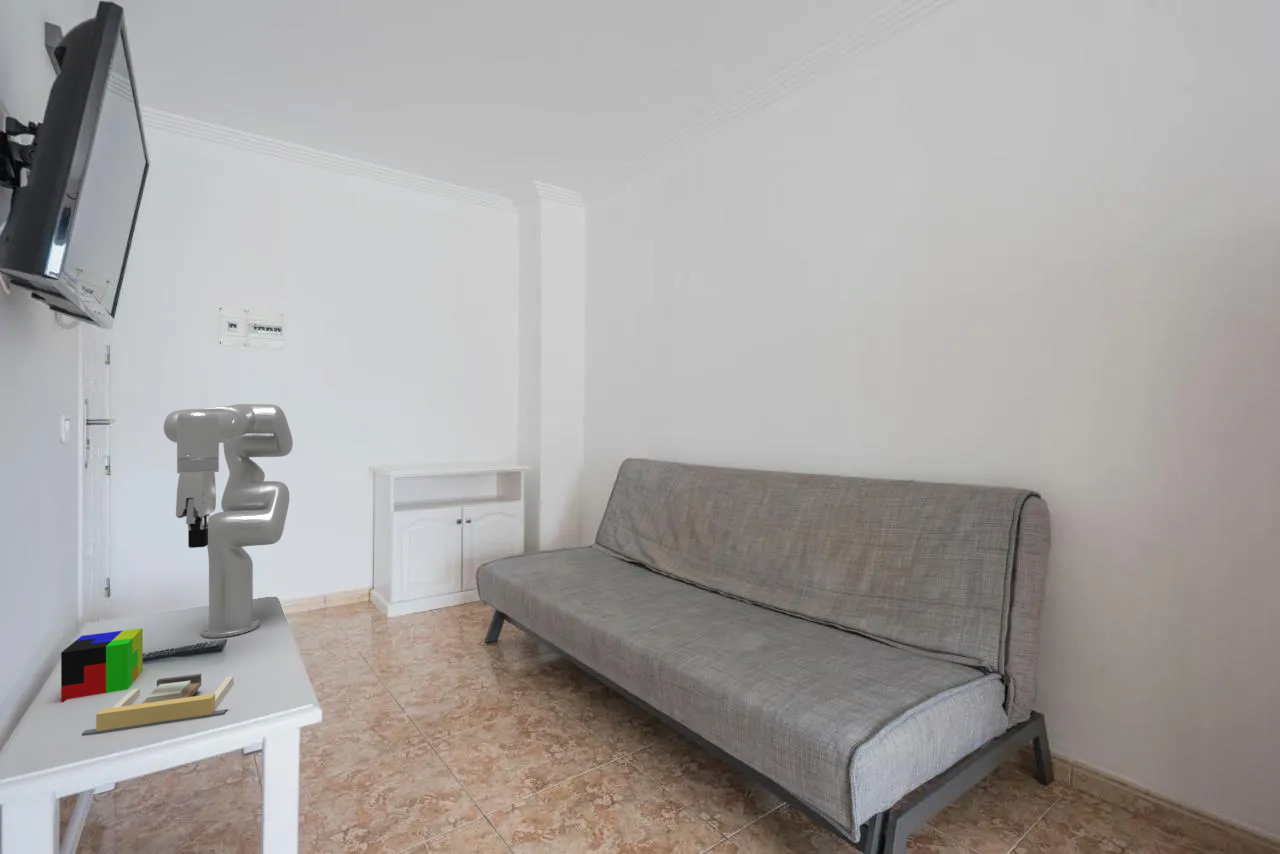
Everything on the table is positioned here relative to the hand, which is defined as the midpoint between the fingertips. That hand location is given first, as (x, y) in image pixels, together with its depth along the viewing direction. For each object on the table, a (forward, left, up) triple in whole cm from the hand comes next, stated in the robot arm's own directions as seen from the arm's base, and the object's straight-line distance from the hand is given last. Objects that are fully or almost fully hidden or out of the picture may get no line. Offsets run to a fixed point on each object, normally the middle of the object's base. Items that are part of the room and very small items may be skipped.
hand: (198, 546), depth 129 cm
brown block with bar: (+21, +2, -27) cm, 34 cm away
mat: (+15, +2, -27) cm, 31 cm away
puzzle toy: (+6, -14, -27) cm, 32 cm away
